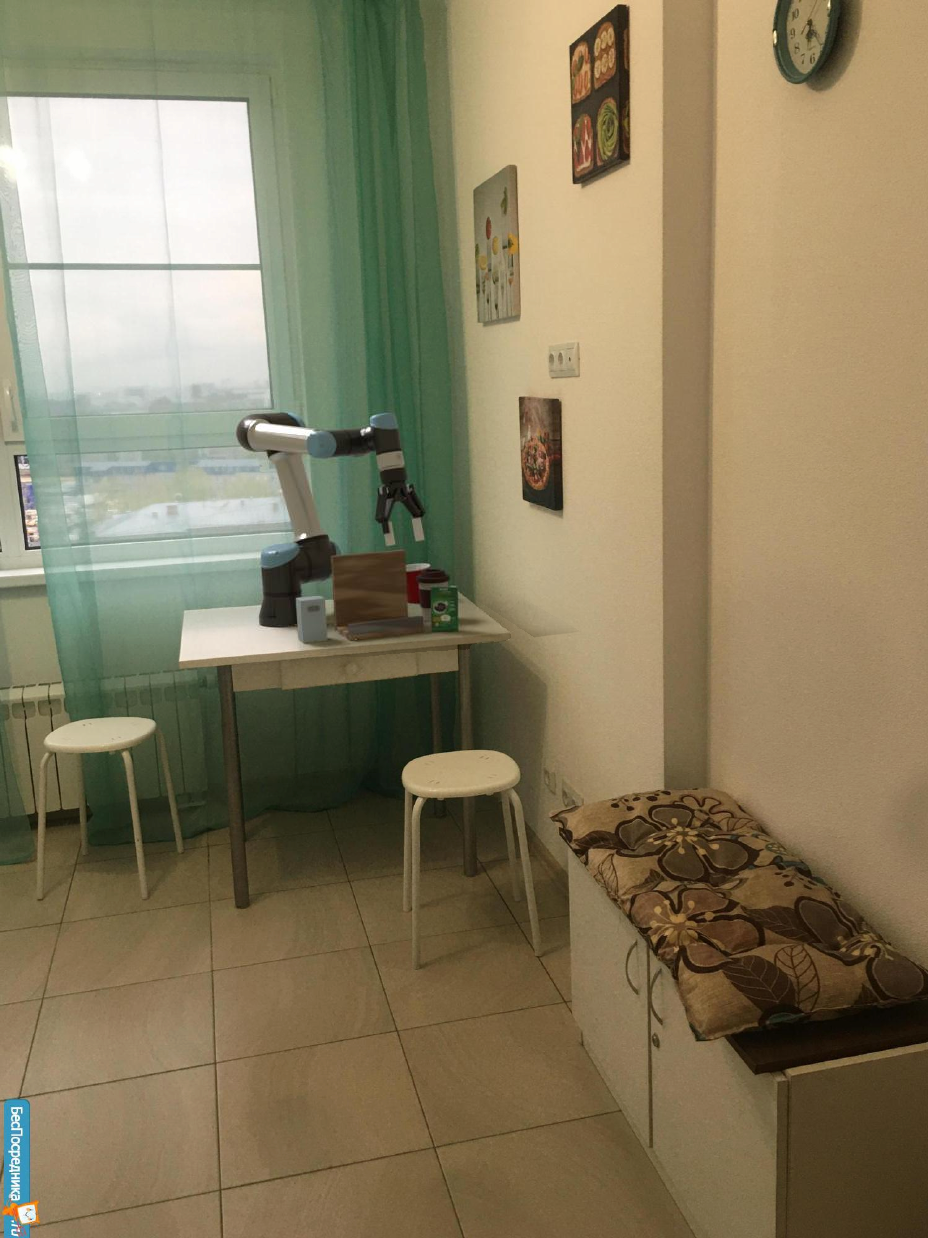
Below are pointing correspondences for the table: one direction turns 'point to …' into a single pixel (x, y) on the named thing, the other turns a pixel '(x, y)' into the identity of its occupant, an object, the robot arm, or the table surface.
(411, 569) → the plastic cup
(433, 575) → the coffee cup
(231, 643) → the table surface
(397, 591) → the brown wooden display stand
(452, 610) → the coffee box
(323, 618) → the small blue-gray block
